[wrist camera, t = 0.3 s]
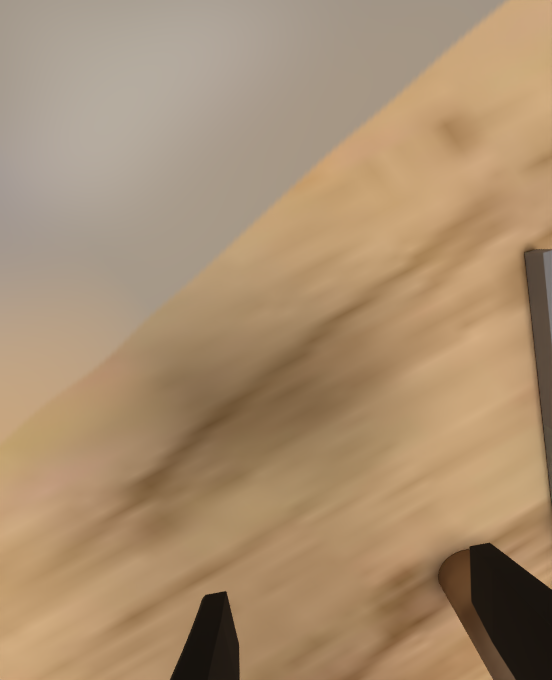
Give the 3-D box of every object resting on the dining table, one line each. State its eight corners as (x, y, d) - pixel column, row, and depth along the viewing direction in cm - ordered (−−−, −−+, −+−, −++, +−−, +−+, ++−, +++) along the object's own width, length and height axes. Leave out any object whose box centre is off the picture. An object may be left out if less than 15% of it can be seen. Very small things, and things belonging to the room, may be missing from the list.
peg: (496, 586, 24) (576, 696, 18) (443, 601, 24) (505, 716, 18) (489, 543, 23) (570, 643, 17) (433, 558, 23) (496, 665, 17)
